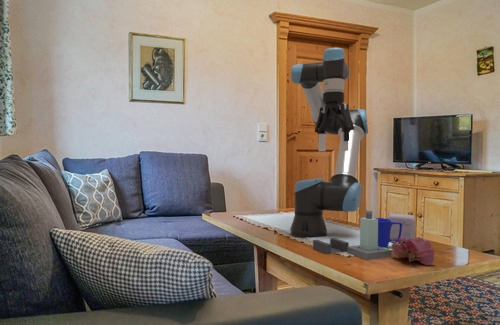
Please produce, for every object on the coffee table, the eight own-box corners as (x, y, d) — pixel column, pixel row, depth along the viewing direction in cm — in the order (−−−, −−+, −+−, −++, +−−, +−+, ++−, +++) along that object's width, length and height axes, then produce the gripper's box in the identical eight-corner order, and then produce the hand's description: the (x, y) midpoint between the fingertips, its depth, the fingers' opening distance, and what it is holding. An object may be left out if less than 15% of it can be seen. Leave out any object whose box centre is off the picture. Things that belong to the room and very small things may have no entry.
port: (346, 254, 131) (346, 245, 131) (370, 251, 136) (370, 242, 136) (367, 261, 122) (367, 252, 122) (391, 258, 126) (391, 249, 126)
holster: (313, 250, 137) (313, 240, 137) (334, 248, 140) (334, 238, 140) (326, 255, 129) (326, 245, 129) (348, 253, 133) (348, 242, 133)
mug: (403, 250, 137) (404, 222, 137) (367, 248, 139) (368, 220, 139) (399, 245, 145) (400, 218, 145) (365, 243, 147) (366, 217, 147)
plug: (359, 254, 130) (360, 210, 130) (369, 252, 132) (369, 210, 131) (368, 256, 126) (368, 212, 126) (377, 255, 128) (378, 211, 128)
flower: (402, 267, 128) (418, 242, 129) (425, 279, 118) (442, 251, 120) (380, 250, 124) (396, 224, 125) (402, 261, 114) (420, 232, 116)
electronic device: (386, 240, 153) (386, 214, 153) (388, 238, 158) (388, 213, 157) (413, 243, 149) (414, 216, 149) (414, 240, 153) (415, 215, 153)
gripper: (305, 96, 151) (305, 151, 151) (347, 86, 128) (346, 150, 129) (322, 97, 154) (321, 151, 155) (365, 87, 131) (364, 150, 132)
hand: (333, 151), depth 142 cm, fingers open, 13 cm apart
